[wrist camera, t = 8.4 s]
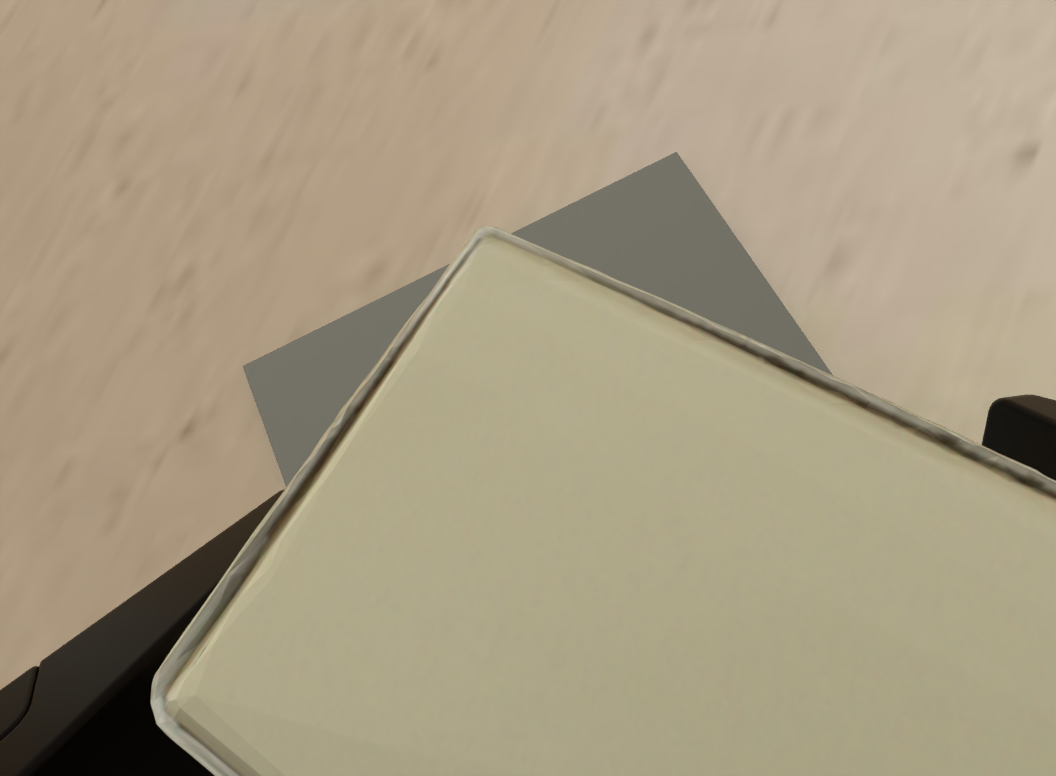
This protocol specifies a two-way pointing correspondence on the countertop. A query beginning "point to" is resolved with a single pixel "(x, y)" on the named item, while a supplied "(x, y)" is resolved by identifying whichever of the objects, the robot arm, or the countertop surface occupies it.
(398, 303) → the slate mat
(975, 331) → the countertop surface
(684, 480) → the skincare box
